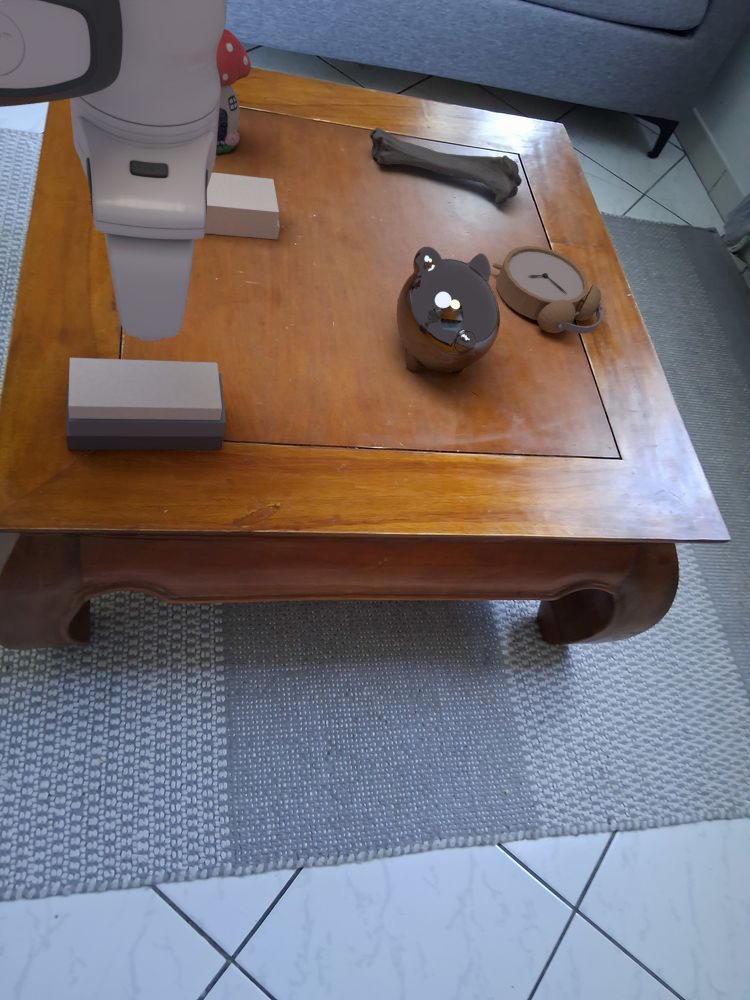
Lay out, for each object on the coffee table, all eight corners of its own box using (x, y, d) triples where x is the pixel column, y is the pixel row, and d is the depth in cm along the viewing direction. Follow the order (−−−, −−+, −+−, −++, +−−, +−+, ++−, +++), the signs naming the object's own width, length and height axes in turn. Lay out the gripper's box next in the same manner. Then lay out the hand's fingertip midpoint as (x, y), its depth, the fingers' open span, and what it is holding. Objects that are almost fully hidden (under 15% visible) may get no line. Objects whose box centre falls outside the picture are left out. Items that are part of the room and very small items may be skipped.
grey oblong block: (157, 229, 88) (157, 200, 85) (155, 195, 91) (156, 166, 88) (277, 239, 92) (282, 212, 89) (272, 206, 95) (276, 179, 92)
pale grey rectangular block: (69, 418, 67) (68, 406, 65) (71, 370, 69) (69, 357, 68) (220, 420, 71) (222, 408, 69) (216, 374, 73) (217, 362, 72)
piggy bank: (463, 309, 94) (498, 234, 85) (486, 405, 86) (528, 334, 77) (376, 300, 91) (403, 221, 82) (392, 398, 83) (424, 323, 74)
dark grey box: (67, 450, 70) (63, 421, 66) (68, 398, 73) (65, 368, 69) (222, 449, 74) (226, 422, 71) (217, 401, 77) (221, 372, 74)
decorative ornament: (176, 154, 96) (181, 32, 84) (166, 122, 99) (169, -1, 86) (248, 156, 99) (263, 39, 87) (236, 124, 102) (249, 7, 90)
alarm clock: (542, 236, 101) (630, 295, 95) (531, 268, 105) (615, 327, 98) (484, 258, 96) (573, 322, 89) (475, 291, 99) (559, 355, 93)
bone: (512, 189, 111) (530, 152, 106) (512, 216, 107) (530, 178, 102) (367, 144, 108) (378, 103, 103) (361, 170, 104) (372, 128, 99)
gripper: (93, 27, 52) (104, 197, 64) (92, 230, 42) (105, 389, 54) (188, 41, 54) (181, 204, 65) (208, 238, 44) (197, 390, 55)
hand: (147, 289), depth 59 cm, fingers open, 8 cm apart
